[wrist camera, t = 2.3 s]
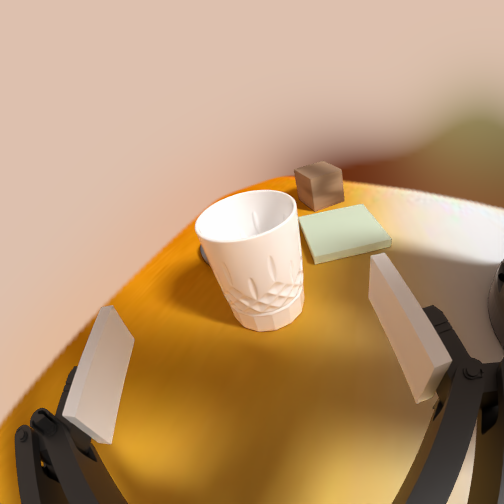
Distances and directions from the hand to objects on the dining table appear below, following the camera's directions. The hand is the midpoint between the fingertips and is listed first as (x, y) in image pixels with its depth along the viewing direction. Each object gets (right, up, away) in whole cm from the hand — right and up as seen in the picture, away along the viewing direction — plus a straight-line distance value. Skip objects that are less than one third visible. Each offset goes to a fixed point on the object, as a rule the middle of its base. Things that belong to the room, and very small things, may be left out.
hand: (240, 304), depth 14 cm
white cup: (+2, -3, +14) cm, 14 cm away
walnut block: (+11, +10, +29) cm, 33 cm away
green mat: (+11, +5, +21) cm, 24 cm away
